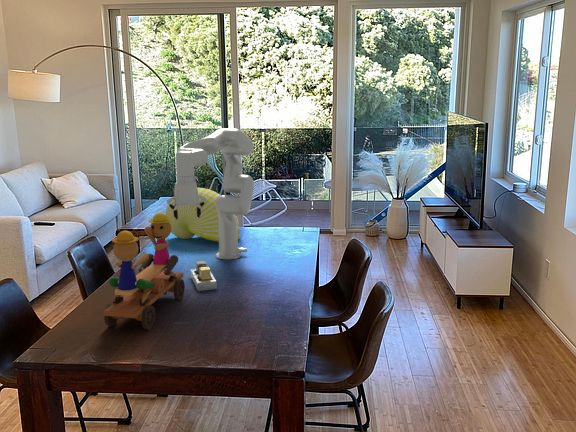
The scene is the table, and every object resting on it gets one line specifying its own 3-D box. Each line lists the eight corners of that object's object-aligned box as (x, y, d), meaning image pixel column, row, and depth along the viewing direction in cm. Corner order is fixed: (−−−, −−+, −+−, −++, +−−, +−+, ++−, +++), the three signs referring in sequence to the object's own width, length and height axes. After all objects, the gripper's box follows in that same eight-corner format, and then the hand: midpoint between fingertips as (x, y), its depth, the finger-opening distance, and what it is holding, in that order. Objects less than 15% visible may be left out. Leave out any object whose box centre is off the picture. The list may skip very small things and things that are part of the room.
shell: (228, 260, 308) (240, 248, 337) (242, 205, 302) (254, 197, 331) (152, 237, 312) (170, 227, 342) (164, 182, 306) (182, 176, 335)
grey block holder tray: (208, 275, 263) (208, 267, 262) (216, 288, 245) (216, 281, 244) (191, 277, 260) (190, 269, 259) (197, 290, 242) (197, 283, 242)
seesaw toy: (141, 337, 197) (135, 237, 190) (99, 334, 200) (92, 235, 192) (188, 292, 241) (184, 209, 233) (153, 290, 243) (148, 207, 236)
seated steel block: (205, 277, 259) (204, 260, 257) (206, 280, 255) (206, 263, 254) (196, 278, 258) (195, 261, 256) (197, 281, 254) (197, 264, 252)
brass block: (209, 284, 251) (208, 266, 249) (210, 287, 247) (210, 269, 245) (200, 285, 250) (199, 267, 248) (201, 288, 246) (201, 270, 244)
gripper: (203, 176, 256) (205, 214, 260) (164, 179, 250) (166, 217, 254) (207, 179, 249) (208, 218, 253) (166, 182, 244) (168, 221, 248)
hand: (187, 217), depth 254 cm, fingers open, 9 cm apart
